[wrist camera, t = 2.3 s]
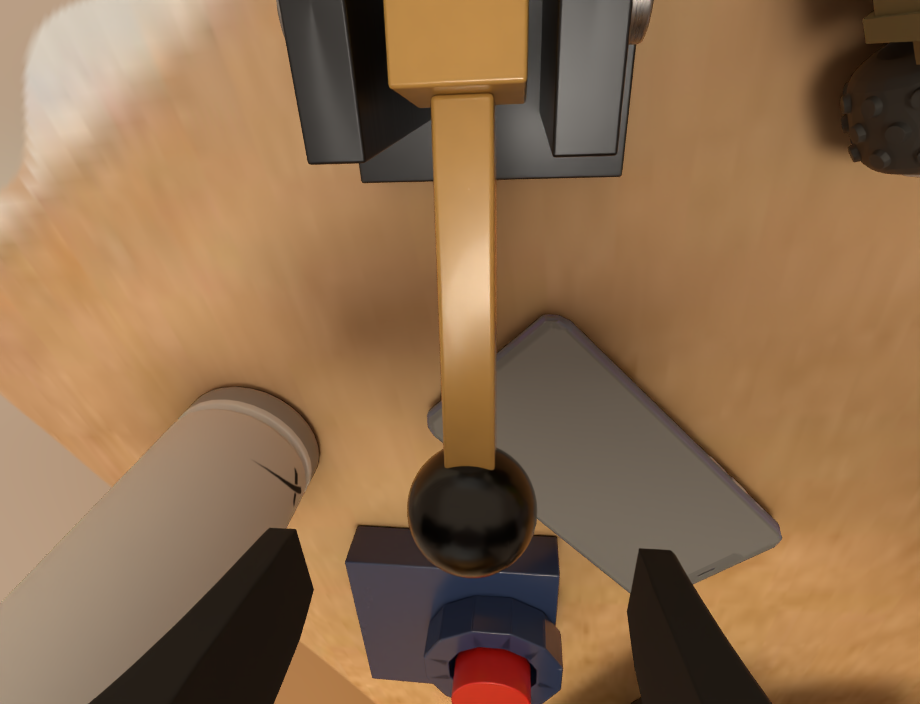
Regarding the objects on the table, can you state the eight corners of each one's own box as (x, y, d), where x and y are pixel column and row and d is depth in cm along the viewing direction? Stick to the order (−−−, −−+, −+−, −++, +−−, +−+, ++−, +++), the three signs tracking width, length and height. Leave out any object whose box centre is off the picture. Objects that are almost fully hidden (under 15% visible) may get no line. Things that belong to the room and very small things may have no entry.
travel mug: (346, 425, 23) (-228, 1607, 5) (290, 507, 26) (-186, 1423, 8) (215, 353, 21) (-1064, 1568, 4) (173, 449, 24) (-660, 1374, 7)
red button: (531, 645, 23) (532, 686, 22) (529, 688, 25) (530, 728, 24) (453, 639, 24) (448, 679, 22) (457, 682, 25) (453, 721, 24)
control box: (562, 536, 25) (568, 614, 21) (552, 654, 30) (556, 733, 26) (357, 525, 26) (331, 596, 22) (381, 640, 31) (363, 714, 27)
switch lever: (534, 524, 13) (537, 615, 11) (423, 518, 14) (398, 604, 11) (550, -63, 9) (563, -167, 7) (392, -50, 10) (338, -143, 7)
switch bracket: (615, 169, 16) (698, 267, 9) (370, 176, 17) (248, 268, 9) (651, -180, 12) (862, -575, 5) (330, -147, 13) (64, -429, 6)
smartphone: (555, 310, 18) (794, 542, 22) (554, 299, 19) (784, 524, 22) (416, 426, 21) (645, 609, 25) (421, 412, 22) (642, 591, 26)
